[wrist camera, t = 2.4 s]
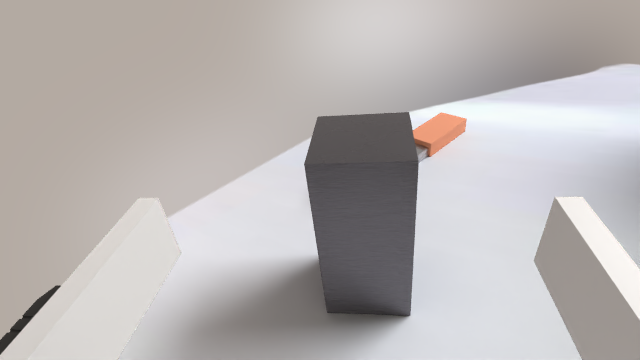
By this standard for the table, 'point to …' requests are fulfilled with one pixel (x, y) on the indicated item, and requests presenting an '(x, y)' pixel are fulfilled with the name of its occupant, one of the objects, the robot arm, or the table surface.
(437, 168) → the table surface
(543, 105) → the table surface
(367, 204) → the dark grey block
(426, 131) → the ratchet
